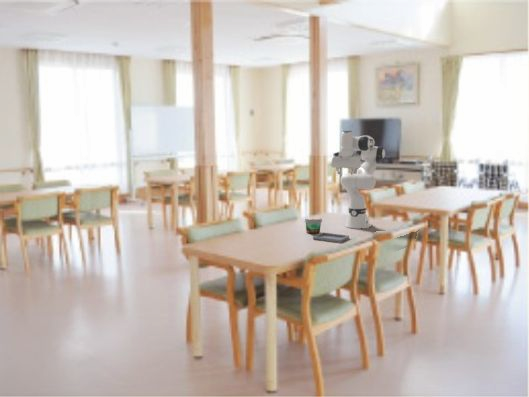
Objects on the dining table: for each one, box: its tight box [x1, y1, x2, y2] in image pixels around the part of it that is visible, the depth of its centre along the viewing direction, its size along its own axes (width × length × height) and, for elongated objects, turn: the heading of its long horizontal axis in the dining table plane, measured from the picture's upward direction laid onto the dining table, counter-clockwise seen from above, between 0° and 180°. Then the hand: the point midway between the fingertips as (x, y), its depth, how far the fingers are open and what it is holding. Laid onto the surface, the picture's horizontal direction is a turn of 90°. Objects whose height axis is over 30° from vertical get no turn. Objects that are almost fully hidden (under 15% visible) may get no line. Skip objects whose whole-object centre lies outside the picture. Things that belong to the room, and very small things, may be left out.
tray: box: [312, 232, 350, 244], centre depth 351 cm, size 15×19×2 cm
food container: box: [304, 218, 323, 235], centre depth 368 cm, size 12×6×10 cm, turn 105°
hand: (345, 174), depth 366 cm, fingers open, 8 cm apart
